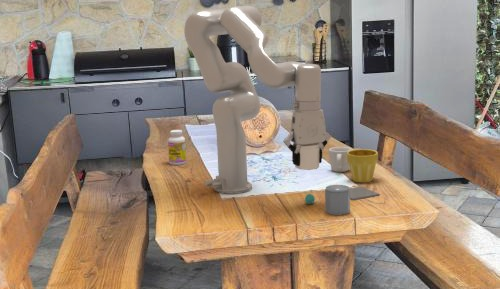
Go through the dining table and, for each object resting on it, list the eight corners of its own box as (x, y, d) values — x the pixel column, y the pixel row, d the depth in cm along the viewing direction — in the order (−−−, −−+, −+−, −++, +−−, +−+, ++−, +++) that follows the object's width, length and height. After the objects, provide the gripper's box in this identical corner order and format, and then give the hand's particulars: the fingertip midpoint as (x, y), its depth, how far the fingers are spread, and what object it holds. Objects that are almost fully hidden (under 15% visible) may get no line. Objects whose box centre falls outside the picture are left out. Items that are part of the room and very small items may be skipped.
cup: (350, 175, 253) (350, 153, 252) (327, 175, 255) (327, 153, 253) (352, 168, 264) (352, 146, 262) (330, 167, 265) (330, 146, 263)
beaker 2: (334, 216, 209) (333, 192, 208) (321, 210, 215) (321, 186, 214) (353, 212, 212) (353, 188, 211) (341, 206, 218) (340, 183, 217)
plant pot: (359, 185, 240) (358, 157, 238) (341, 179, 249) (340, 151, 247) (384, 181, 245) (384, 153, 243) (365, 174, 254) (365, 147, 252)
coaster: (352, 200, 224) (352, 198, 224) (335, 192, 233) (335, 191, 233) (379, 195, 228) (379, 193, 228) (361, 188, 237) (361, 186, 237)
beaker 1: (303, 170, 216) (303, 147, 214) (292, 165, 222) (292, 142, 220) (322, 168, 219) (323, 145, 217) (311, 163, 225) (311, 140, 223)
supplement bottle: (166, 164, 278) (164, 132, 276) (174, 160, 284) (172, 128, 281) (181, 165, 276) (179, 132, 273) (189, 161, 282) (187, 129, 279)
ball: (308, 205, 220) (308, 196, 220) (303, 203, 223) (303, 193, 222) (316, 204, 222) (316, 194, 221) (311, 201, 224) (311, 192, 224)
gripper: (288, 110, 209) (288, 170, 213) (339, 105, 216) (338, 162, 221) (276, 106, 216) (276, 164, 220) (326, 101, 223) (325, 157, 227)
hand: (307, 163), depth 220 cm, fingers closed on beaker 1, 6 cm apart
